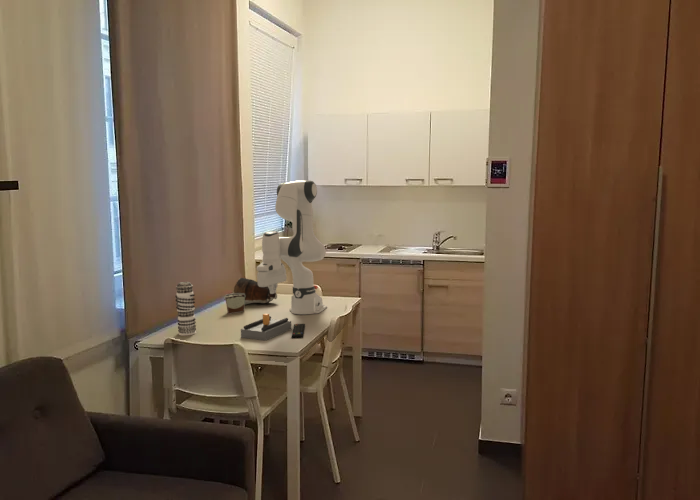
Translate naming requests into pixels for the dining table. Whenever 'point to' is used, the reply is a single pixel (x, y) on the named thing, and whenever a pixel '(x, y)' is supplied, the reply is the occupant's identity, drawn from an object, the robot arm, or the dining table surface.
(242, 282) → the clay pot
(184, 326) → the decorative candle
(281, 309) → the dining table surface
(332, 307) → the dining table surface
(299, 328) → the remote control
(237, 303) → the food container
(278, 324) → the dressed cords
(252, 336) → the tray
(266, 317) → the lever
